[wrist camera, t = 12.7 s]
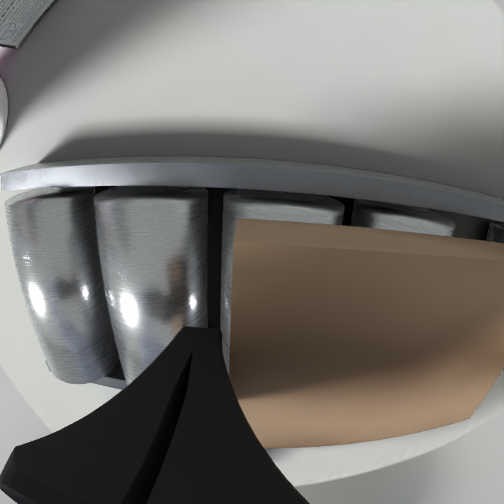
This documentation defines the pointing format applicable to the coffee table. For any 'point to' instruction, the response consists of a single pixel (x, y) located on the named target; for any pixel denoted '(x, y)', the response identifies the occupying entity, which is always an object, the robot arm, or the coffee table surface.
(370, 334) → the slab
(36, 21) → the candy bar box
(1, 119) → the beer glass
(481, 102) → the coffee table surface
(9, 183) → the roller bed
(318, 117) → the coffee table surface
